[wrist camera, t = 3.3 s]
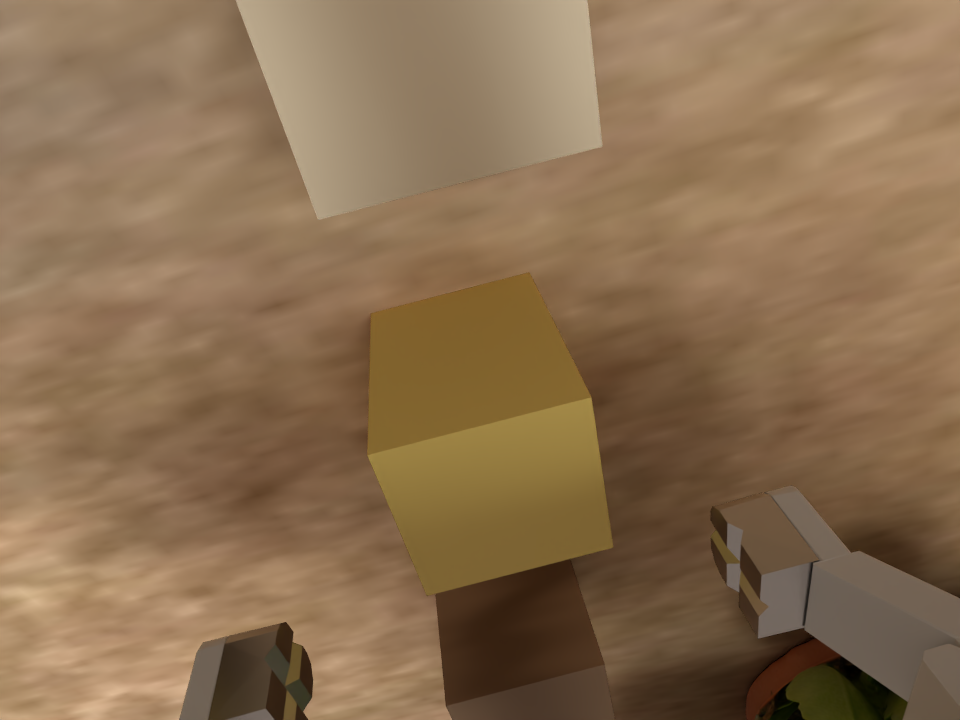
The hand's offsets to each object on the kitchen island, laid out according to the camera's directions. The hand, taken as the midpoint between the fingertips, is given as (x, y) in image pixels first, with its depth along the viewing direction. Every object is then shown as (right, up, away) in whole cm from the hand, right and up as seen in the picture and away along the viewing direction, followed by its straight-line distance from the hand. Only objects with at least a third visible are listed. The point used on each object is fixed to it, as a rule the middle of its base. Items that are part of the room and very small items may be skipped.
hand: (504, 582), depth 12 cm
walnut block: (0, -3, +12) cm, 12 cm away
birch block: (-2, +12, +2) cm, 12 cm away
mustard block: (-1, +4, +7) cm, 8 cm away
